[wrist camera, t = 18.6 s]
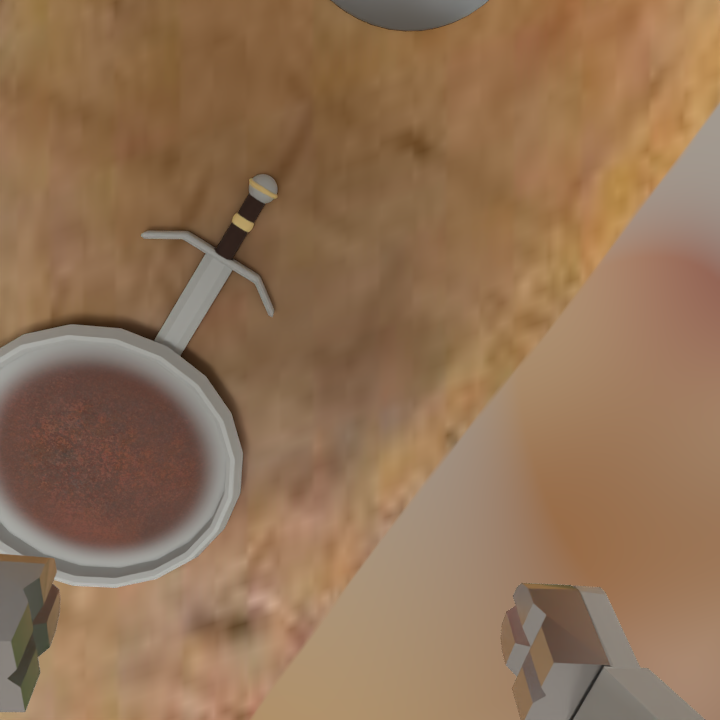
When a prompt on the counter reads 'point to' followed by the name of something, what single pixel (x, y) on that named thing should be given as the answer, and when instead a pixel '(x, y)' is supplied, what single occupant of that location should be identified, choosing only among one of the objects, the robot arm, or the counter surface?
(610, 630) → the robot arm
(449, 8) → the shelf bridge
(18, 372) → the frying pan
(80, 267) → the counter surface
